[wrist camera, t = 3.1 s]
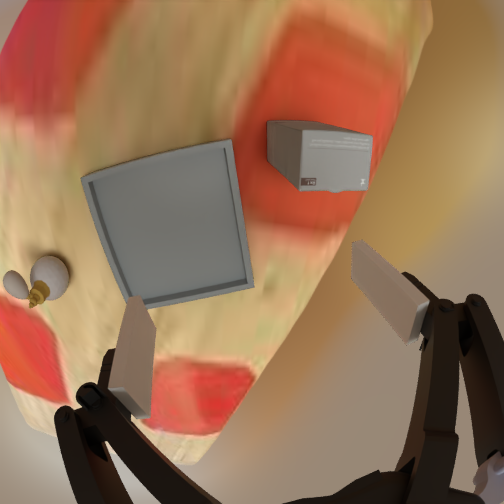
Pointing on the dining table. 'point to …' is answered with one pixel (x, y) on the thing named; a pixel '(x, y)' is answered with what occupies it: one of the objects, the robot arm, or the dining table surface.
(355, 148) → the skincare box
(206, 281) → the tray
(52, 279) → the perfume bottle
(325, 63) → the dining table surface
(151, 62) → the dining table surface
